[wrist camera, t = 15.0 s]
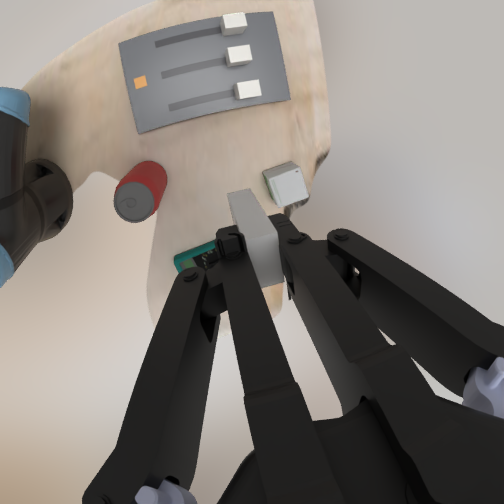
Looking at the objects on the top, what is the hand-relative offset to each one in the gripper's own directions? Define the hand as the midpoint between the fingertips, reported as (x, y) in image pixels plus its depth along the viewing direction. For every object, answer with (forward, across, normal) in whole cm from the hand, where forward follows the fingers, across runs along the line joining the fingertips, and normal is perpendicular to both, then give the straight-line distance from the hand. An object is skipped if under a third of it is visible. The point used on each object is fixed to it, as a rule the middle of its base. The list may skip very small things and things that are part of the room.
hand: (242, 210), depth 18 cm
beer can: (+29, -12, -2) cm, 31 cm away
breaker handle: (+26, +6, +14) cm, 30 cm away
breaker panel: (+28, +1, +14) cm, 32 cm away
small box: (+29, +10, -8) cm, 31 cm away
